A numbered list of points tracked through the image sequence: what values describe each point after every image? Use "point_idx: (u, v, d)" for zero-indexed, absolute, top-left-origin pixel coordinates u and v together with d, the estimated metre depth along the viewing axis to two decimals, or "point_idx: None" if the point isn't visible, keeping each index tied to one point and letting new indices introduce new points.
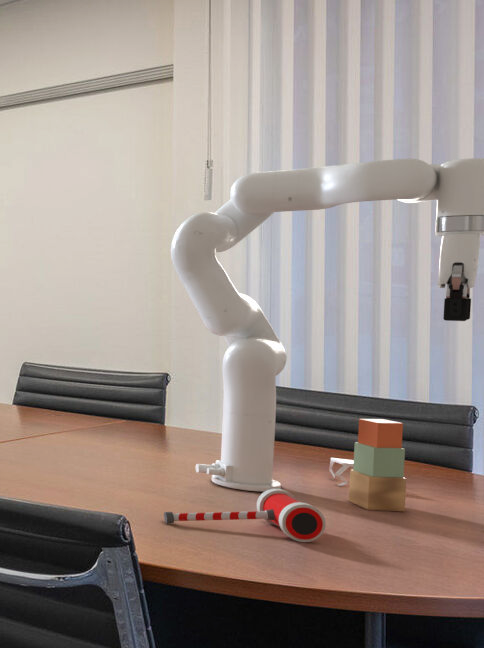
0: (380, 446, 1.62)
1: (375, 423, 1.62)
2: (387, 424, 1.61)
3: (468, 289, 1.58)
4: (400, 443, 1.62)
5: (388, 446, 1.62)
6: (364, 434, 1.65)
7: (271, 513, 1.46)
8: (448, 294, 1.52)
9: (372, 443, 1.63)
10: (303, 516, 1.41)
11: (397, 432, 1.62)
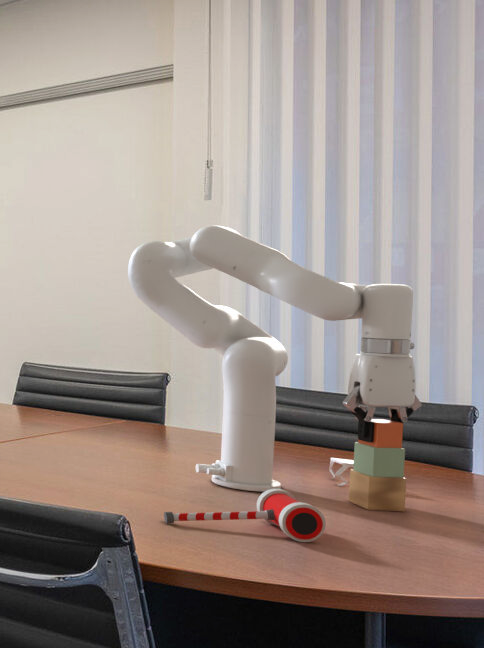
0: (380, 446, 1.62)
1: (375, 423, 1.62)
2: (387, 424, 1.61)
3: (398, 410, 1.63)
4: (400, 443, 1.62)
5: (388, 446, 1.62)
6: None
7: (271, 513, 1.46)
8: (356, 417, 1.65)
9: (372, 443, 1.63)
10: (303, 516, 1.41)
11: (397, 432, 1.62)
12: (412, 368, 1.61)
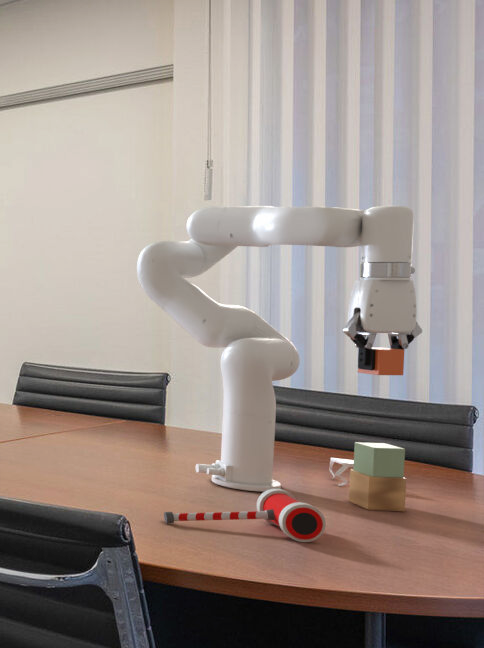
0: (381, 373, 1.56)
1: (376, 350, 1.57)
2: (388, 351, 1.56)
3: (399, 336, 1.57)
4: (402, 370, 1.57)
5: (390, 373, 1.56)
6: None
7: (271, 513, 1.46)
8: (356, 345, 1.60)
9: (373, 371, 1.57)
10: (303, 516, 1.41)
11: (398, 359, 1.56)
12: (413, 292, 1.56)
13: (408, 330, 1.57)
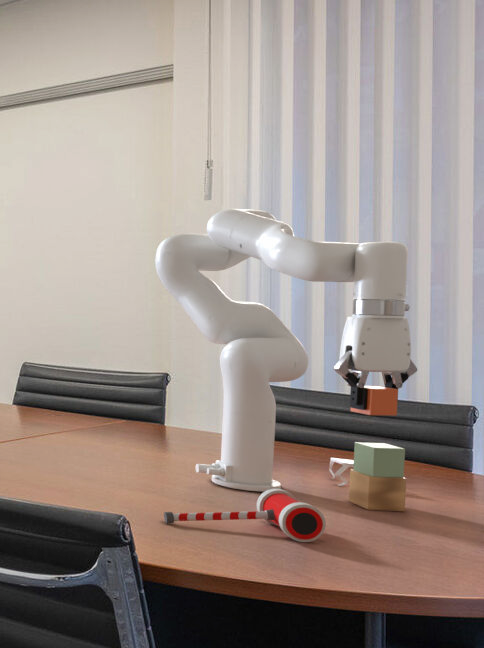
0: (374, 413, 1.52)
1: (368, 389, 1.53)
2: (381, 390, 1.52)
3: (393, 375, 1.53)
4: (395, 410, 1.52)
5: (382, 413, 1.52)
6: None
7: (271, 513, 1.46)
8: (348, 383, 1.56)
9: (366, 411, 1.54)
10: (303, 516, 1.41)
11: (392, 398, 1.52)
12: (407, 331, 1.52)
13: (402, 369, 1.53)
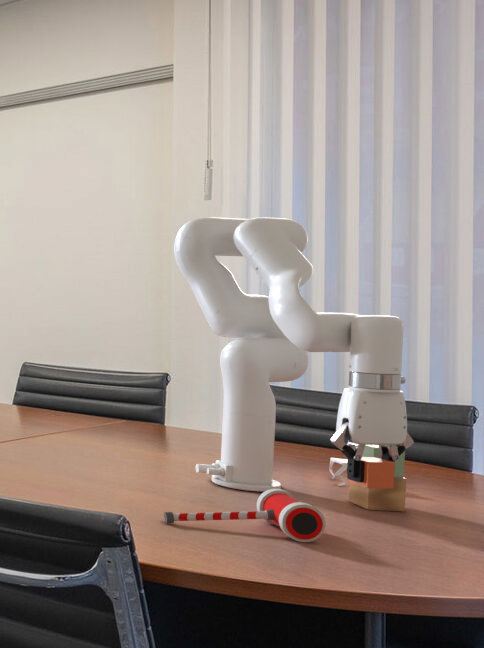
0: (371, 486, 1.53)
1: (365, 462, 1.54)
2: (378, 463, 1.53)
3: (389, 448, 1.54)
4: (392, 483, 1.53)
5: (379, 486, 1.53)
6: None
7: (271, 513, 1.46)
8: (345, 455, 1.56)
9: (363, 483, 1.54)
10: (303, 516, 1.41)
11: (388, 471, 1.53)
12: (403, 404, 1.53)
13: (398, 442, 1.53)
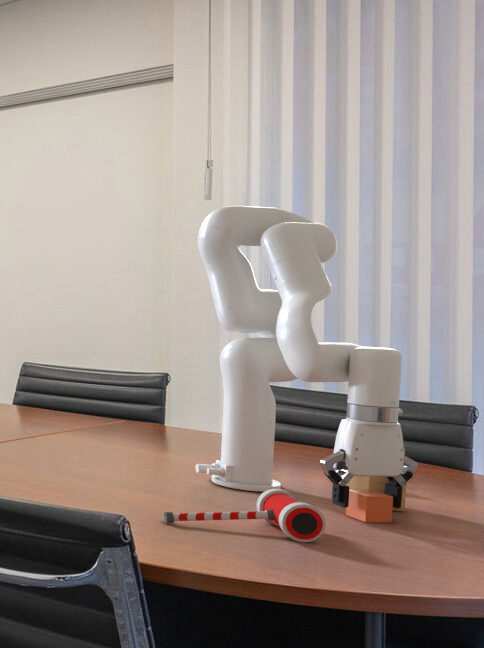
0: (369, 521, 1.53)
1: (363, 496, 1.54)
2: (376, 497, 1.53)
3: (394, 477, 1.55)
4: (390, 517, 1.53)
5: (377, 521, 1.53)
6: (352, 506, 1.56)
7: (271, 513, 1.46)
8: None
9: (361, 517, 1.54)
10: (303, 516, 1.41)
11: (387, 506, 1.53)
12: (400, 436, 1.53)
13: (394, 474, 1.54)
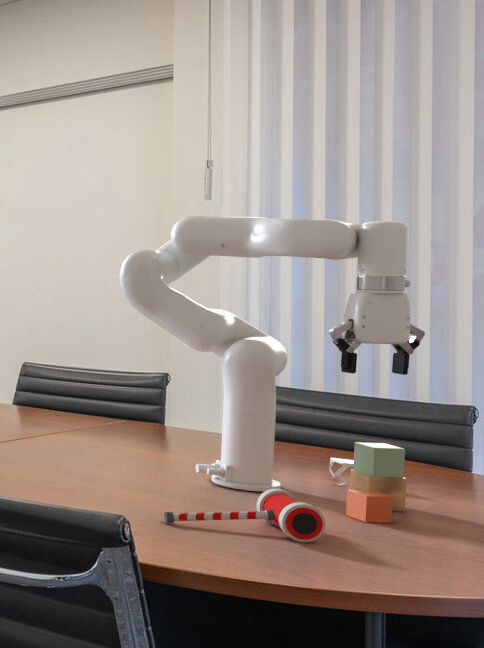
0: (369, 521, 1.53)
1: (363, 496, 1.54)
2: (376, 497, 1.53)
3: (401, 345, 1.63)
4: (390, 517, 1.53)
5: (377, 521, 1.53)
6: (352, 506, 1.56)
7: (271, 513, 1.46)
8: None
9: (361, 517, 1.54)
10: (303, 516, 1.41)
11: (387, 506, 1.53)
12: (407, 305, 1.61)
13: (401, 341, 1.62)
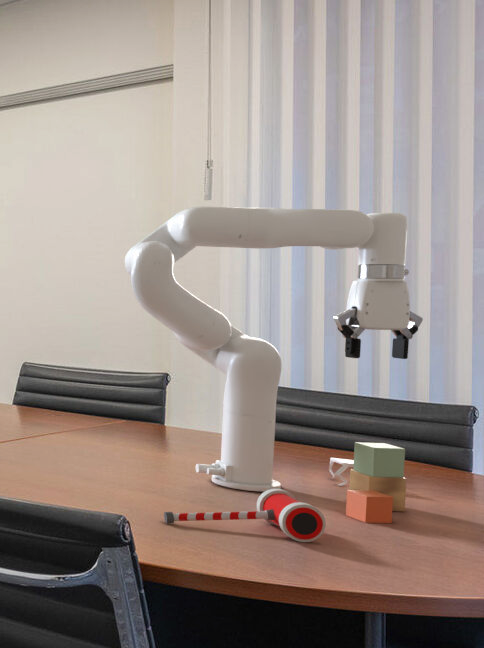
0: (369, 521, 1.53)
1: (363, 496, 1.54)
2: (376, 498, 1.53)
3: (401, 330, 1.71)
4: (390, 518, 1.53)
5: (377, 521, 1.53)
6: (352, 507, 1.56)
7: (271, 513, 1.46)
8: None
9: (361, 517, 1.54)
10: (303, 516, 1.41)
11: (387, 506, 1.53)
12: (406, 292, 1.70)
13: (401, 327, 1.70)
